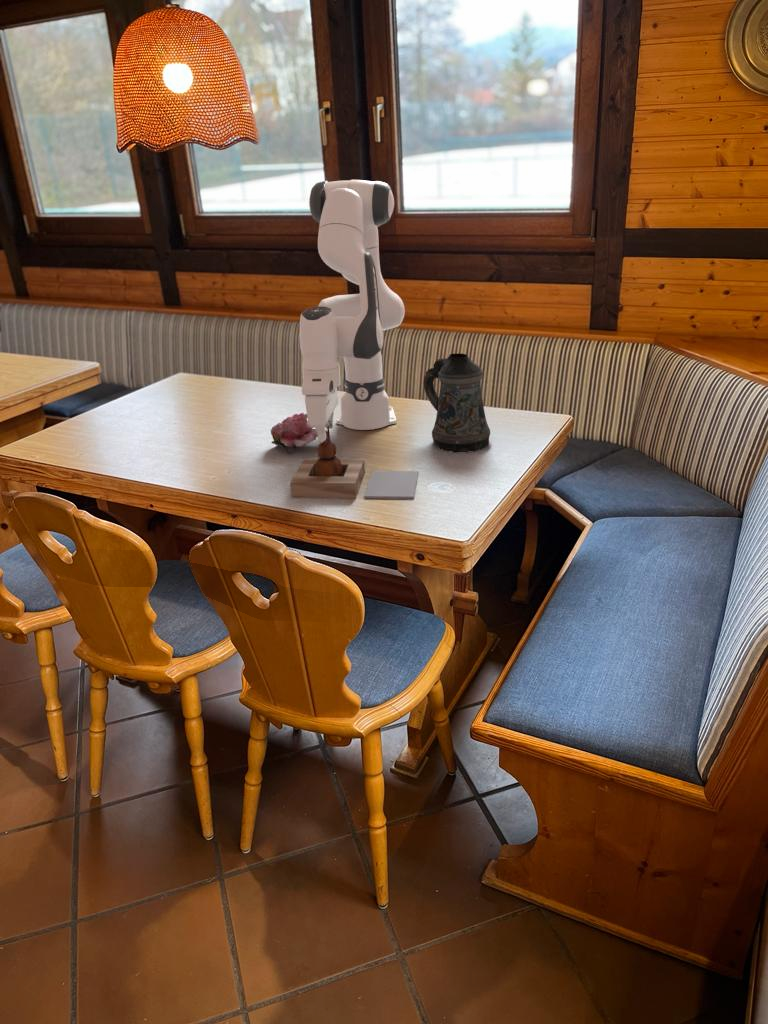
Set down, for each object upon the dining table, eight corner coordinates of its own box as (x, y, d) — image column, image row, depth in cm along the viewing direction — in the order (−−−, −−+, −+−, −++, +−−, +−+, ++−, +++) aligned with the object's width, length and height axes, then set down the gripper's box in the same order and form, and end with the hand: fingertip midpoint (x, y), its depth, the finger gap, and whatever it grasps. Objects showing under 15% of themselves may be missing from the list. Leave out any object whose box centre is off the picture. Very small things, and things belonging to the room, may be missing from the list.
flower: (332, 431, 219) (318, 400, 215) (315, 455, 207) (300, 423, 203) (288, 441, 225) (275, 412, 221) (269, 465, 213) (255, 435, 209)
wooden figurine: (330, 478, 195) (326, 422, 188) (347, 483, 191) (343, 426, 185) (312, 486, 190) (307, 430, 184) (328, 492, 187) (324, 434, 180)
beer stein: (487, 454, 206) (489, 363, 195) (417, 451, 210) (415, 363, 199) (492, 433, 220) (494, 348, 210) (426, 431, 224) (425, 348, 213)
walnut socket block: (305, 472, 199) (303, 458, 197) (365, 472, 197) (364, 458, 195) (291, 497, 185) (290, 482, 183) (356, 498, 183) (355, 483, 181)
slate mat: (372, 472, 197) (372, 470, 197) (418, 473, 195) (418, 471, 195) (364, 498, 182) (364, 496, 182) (413, 498, 181) (413, 496, 181)
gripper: (316, 368, 189) (321, 421, 194) (299, 390, 170) (305, 447, 176) (341, 367, 188) (345, 420, 194) (327, 389, 169) (331, 447, 175)
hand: (326, 433), depth 185 cm, fingers open, 8 cm apart
